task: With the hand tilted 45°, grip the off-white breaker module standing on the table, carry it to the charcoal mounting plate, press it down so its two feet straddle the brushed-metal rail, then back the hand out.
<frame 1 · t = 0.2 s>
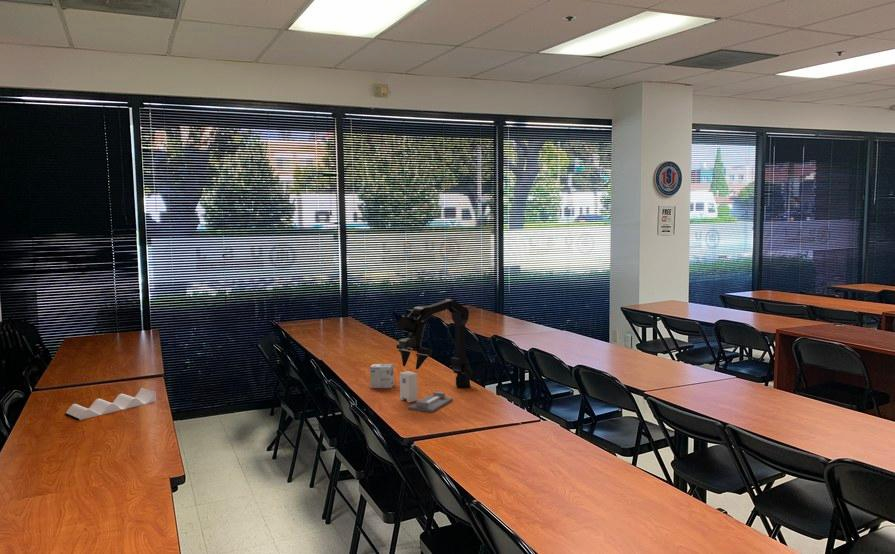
hand: (410, 367, 305), 15 cm above the table, tool tilted 15°, fingers open, 9 cm apart
grey zigzag strip: (111, 410, 301), on the table
light bulb box: (382, 386, 331), on the table
rail plate: (430, 404, 299), on the table
module: (408, 399, 307), on the table
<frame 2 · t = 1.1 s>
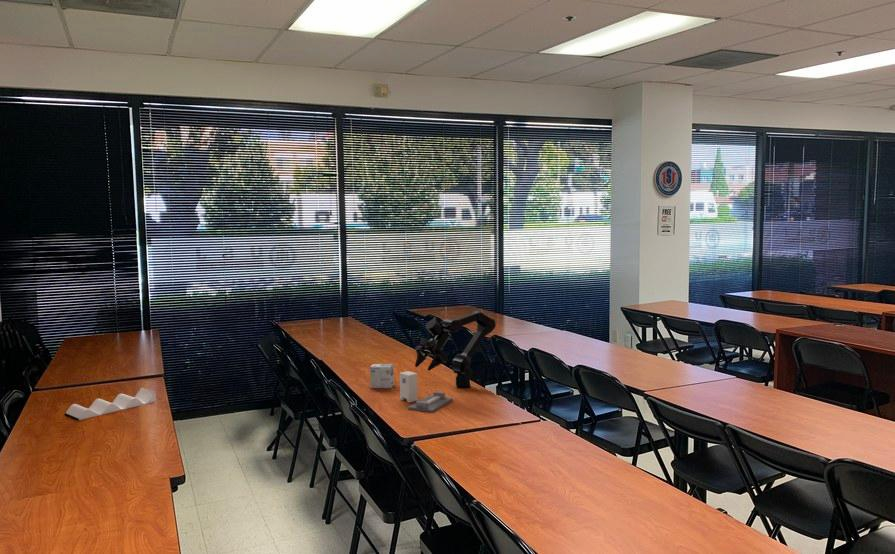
hand: (421, 368, 311), 13 cm above the table, tool tilted 45°, fingers open, 9 cm apart
nothing on the table moved.
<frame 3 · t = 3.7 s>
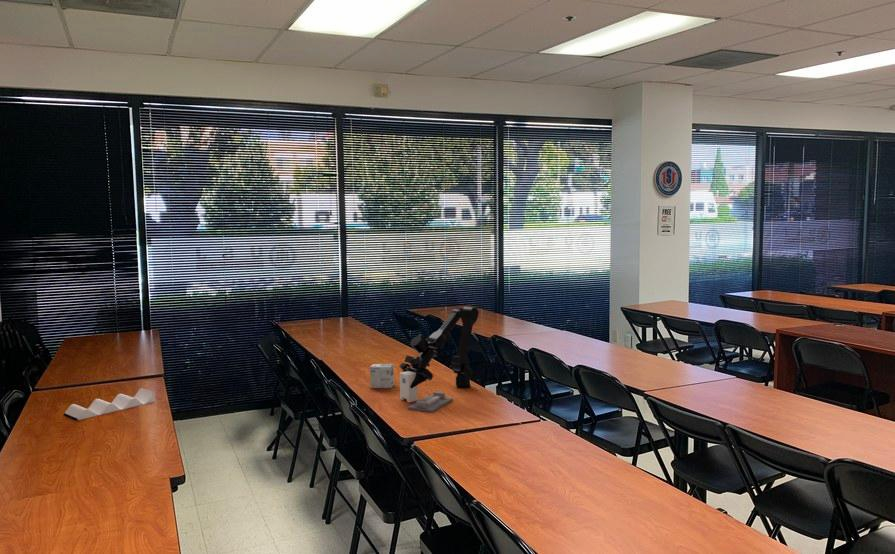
hand: (406, 386, 306), 7 cm above the table, tool tilted 45°, fingers closed on module, 6 cm apart
module: (408, 399, 307), on the table, touching gripper
everything else where it was.
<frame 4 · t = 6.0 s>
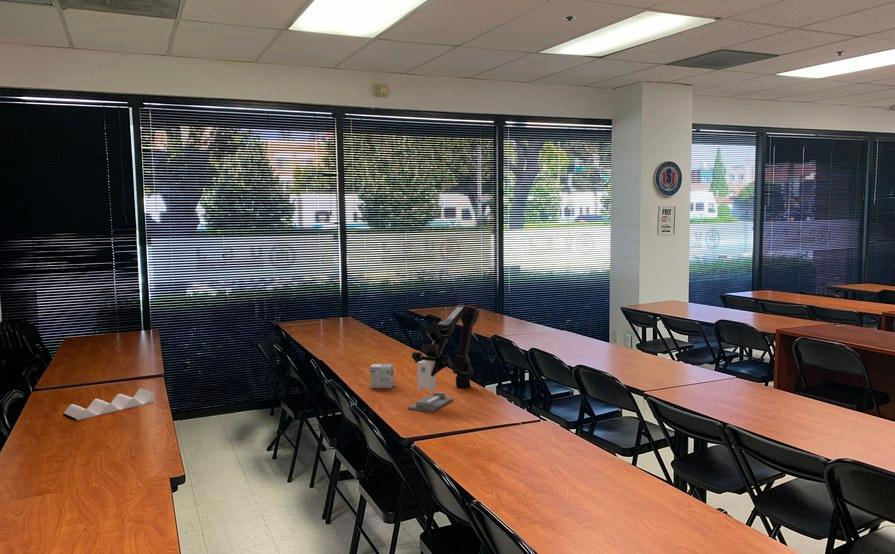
hand: (425, 375, 298), 13 cm above the table, tool tilted 45°, fingers closed on module, 6 cm apart
module: (426, 389, 300), point 7 cm above the table, touching gripper
everything else where it was.
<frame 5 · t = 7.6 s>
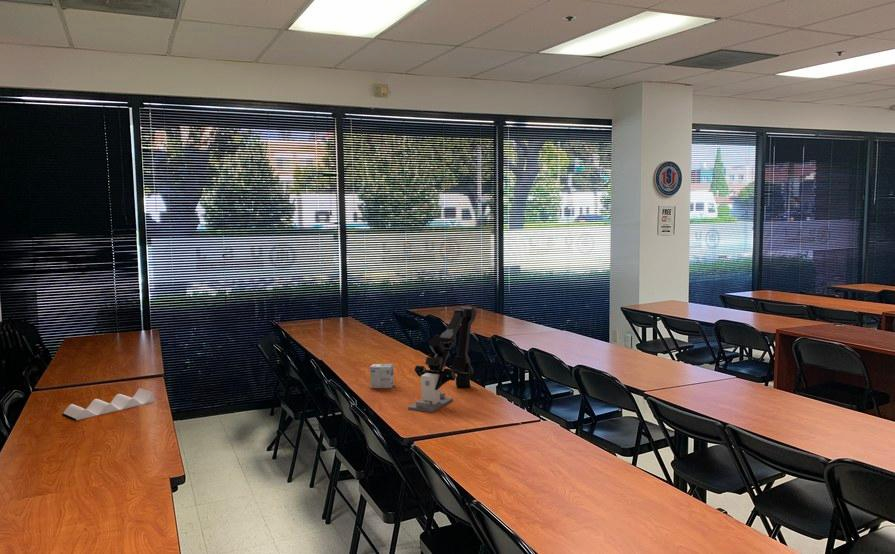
hand: (428, 389, 297), 8 cm above the table, tool tilted 45°, fingers closed on module, 6 cm apart
module: (430, 402, 299), point 1 cm above the table, touching gripper, rail plate
when the fingers open (8 cm above the table, at t = 8.7 s): module stays where it is, resting on rail plate.
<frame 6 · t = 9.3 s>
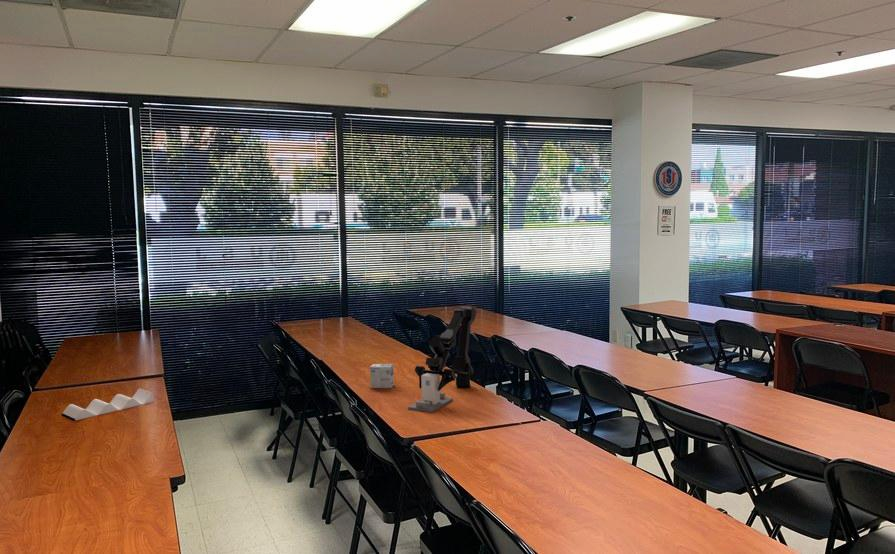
hand: (429, 389, 297), 7 cm above the table, tool tilted 45°, fingers open, 9 cm apart
module: (430, 402, 299), point 1 cm above the table, touching rail plate
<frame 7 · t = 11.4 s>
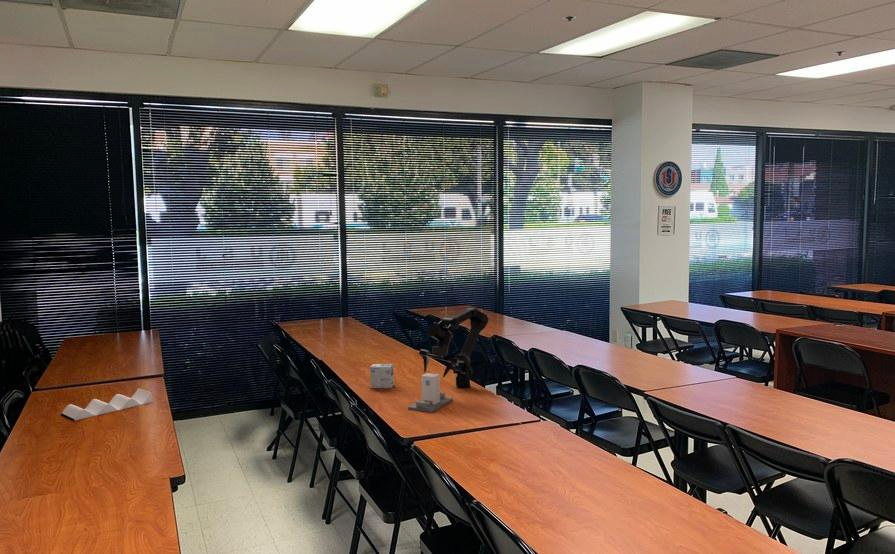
hand: (434, 374, 311), 10 cm above the table, tool tilted 30°, fingers open, 9 cm apart
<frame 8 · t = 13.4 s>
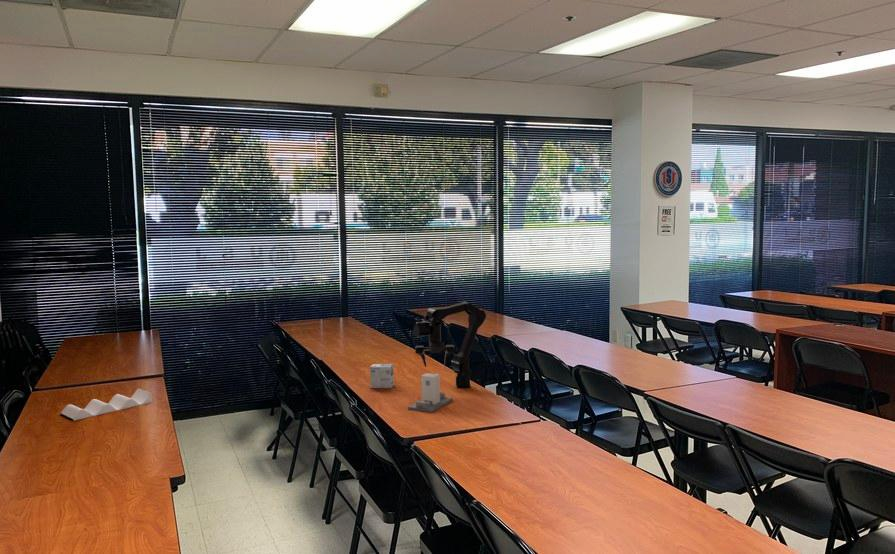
hand: (435, 366, 319), 12 cm above the table, tool pointing down, fingers open, 9 cm apart
at the end: module 0.1 cm off-centre on the rail plate, point 1.0 cm above the rail plate's base; module tilted 0°; the gripper is holding nothing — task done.
